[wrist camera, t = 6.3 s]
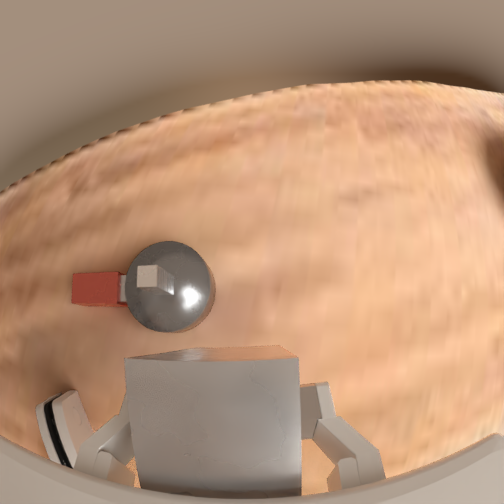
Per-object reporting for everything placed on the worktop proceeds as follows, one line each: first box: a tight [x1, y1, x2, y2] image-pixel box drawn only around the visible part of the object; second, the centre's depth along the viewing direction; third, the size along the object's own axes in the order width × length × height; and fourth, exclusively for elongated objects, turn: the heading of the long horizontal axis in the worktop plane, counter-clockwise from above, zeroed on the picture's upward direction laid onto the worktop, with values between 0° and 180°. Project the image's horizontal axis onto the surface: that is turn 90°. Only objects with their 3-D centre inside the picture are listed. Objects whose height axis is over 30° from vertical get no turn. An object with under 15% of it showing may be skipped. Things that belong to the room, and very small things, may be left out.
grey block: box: [124, 345, 302, 499], centre depth 11 cm, size 5×5×9 cm
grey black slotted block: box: [36, 390, 94, 469], centre depth 21 cm, size 17×5×10 cm, turn 22°
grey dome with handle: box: [72, 241, 216, 333], centre depth 26 cm, size 16×9×8 cm, turn 93°
